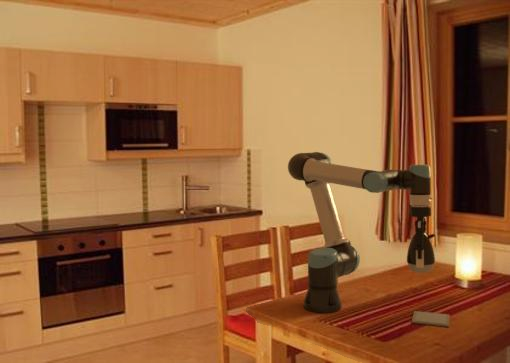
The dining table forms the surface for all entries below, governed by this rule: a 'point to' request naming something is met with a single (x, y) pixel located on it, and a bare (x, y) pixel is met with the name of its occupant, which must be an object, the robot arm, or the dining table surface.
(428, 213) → the robot arm
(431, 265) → the pump dispenser
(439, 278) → the dining table surface
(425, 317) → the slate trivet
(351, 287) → the dining table surface
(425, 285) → the dining table surface
